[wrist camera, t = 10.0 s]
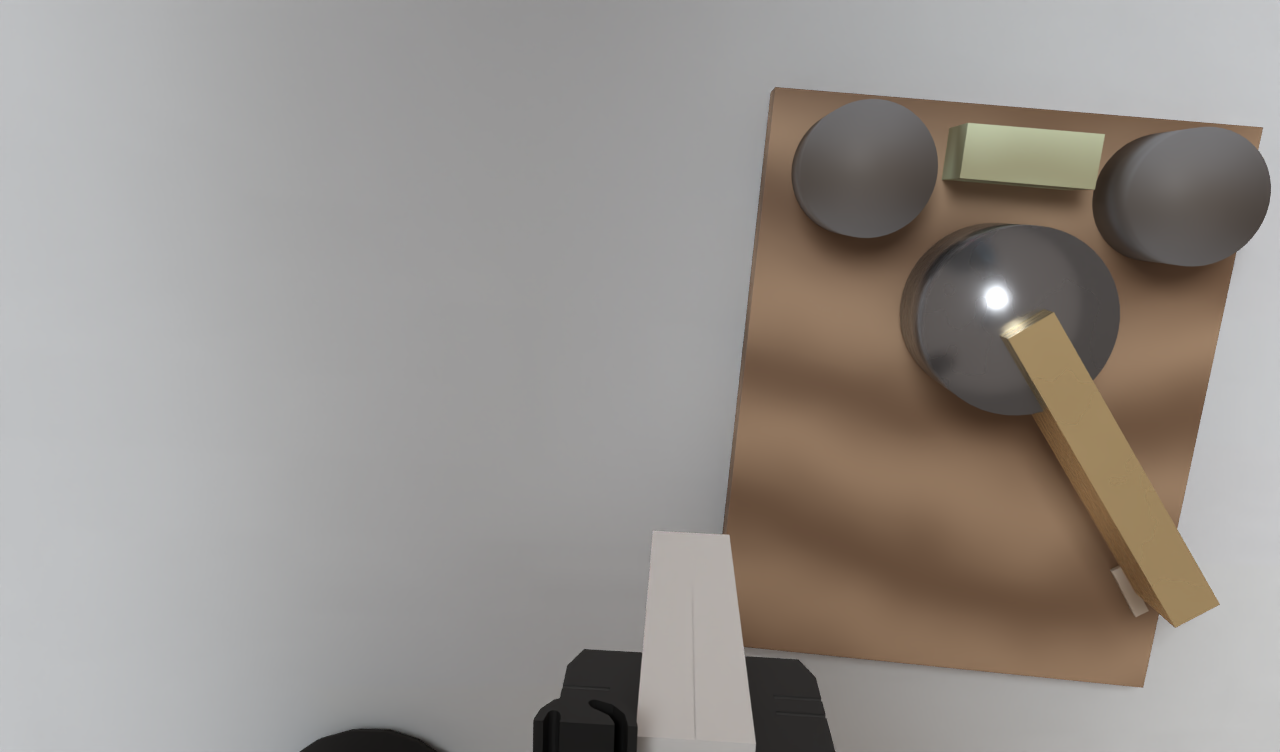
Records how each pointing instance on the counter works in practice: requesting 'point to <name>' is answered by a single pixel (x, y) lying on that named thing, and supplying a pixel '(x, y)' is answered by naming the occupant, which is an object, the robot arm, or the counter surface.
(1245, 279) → the counter surface
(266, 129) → the counter surface
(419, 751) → the coffee jar
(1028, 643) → the instrument base
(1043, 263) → the ball-head mallet
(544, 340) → the counter surface
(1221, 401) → the counter surface
